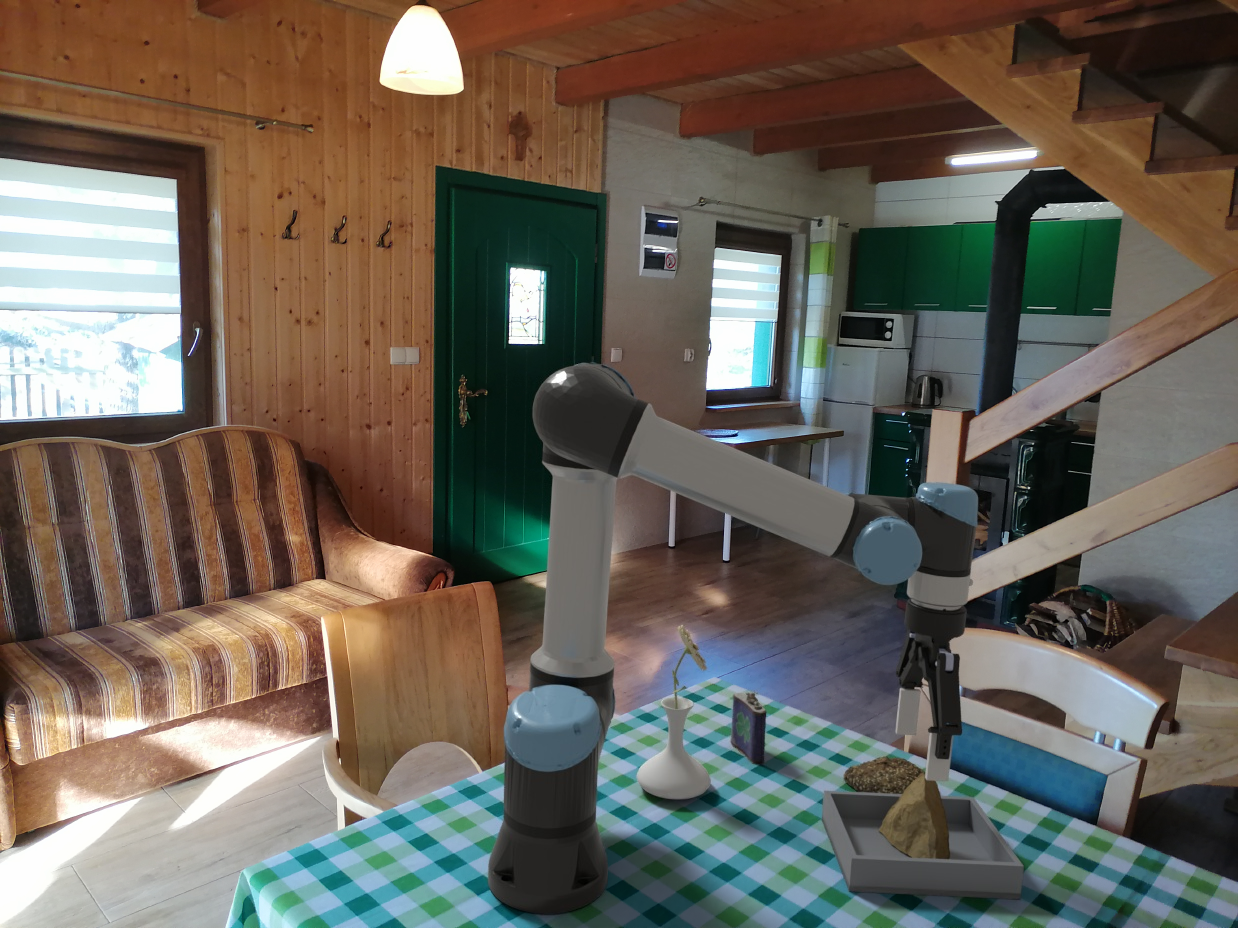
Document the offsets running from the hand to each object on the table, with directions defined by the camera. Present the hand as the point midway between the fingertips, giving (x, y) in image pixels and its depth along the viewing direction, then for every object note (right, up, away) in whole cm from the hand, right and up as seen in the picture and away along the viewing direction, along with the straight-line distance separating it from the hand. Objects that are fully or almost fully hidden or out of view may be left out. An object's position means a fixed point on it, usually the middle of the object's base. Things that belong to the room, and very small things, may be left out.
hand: (920, 755), depth 125 cm
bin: (0, -14, +2) cm, 15 cm away
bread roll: (+2, -12, +22) cm, 25 cm away
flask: (-19, -10, +32) cm, 38 cm away
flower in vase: (-32, -11, +19) cm, 39 cm away
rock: (0, -14, +2) cm, 14 cm away
